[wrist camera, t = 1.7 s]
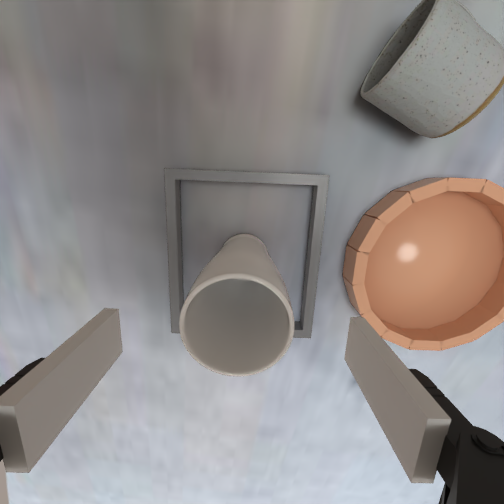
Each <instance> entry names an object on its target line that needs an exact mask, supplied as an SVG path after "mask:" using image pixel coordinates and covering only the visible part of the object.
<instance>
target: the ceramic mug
mask: <svg viewBox="0 0 504 504" xmlns="http://www.w3.org/2000/svg"><path fill="white" fill-rule="evenodd" d="M503 84H504V49H503V48H502V46H501V45H500V43H499V42H498V41H497V40H496V39H495V38H494V37H492V36H491V35H490V34H489V33H488V32H486V31H485V30H484V29H483V28H482V27H481V26H480V25H479V24H478V23H477V22H476V20H475V18H474V17H473V15H472V14H471V13H470V12H469V11H468V9H467V8H466V7H465V6H464V5H462V4H461V3H459V2H458V1H456V0H422V1H421V3H420V4H419V5H418V6H417V7H416V8H415V9H414V10H413V11H412V13H411V14H410V15H409V16H408V17H407V18H406V20H405V21H404V22H403V23H402V25H401V26H400V27H399V28H398V30H397V31H396V32H395V33H394V35H393V36H392V38H391V39H390V40H389V42H388V43H387V44H386V46H385V47H384V49H383V50H382V52H381V54H380V55H379V57H378V58H377V59H376V61H375V62H374V64H373V66H372V67H371V69H370V71H369V73H368V74H367V76H366V79H365V80H364V83H363V85H362V88H361V96H362V98H364V99H365V100H367V101H369V102H370V103H372V104H373V105H375V106H376V107H378V108H379V109H380V110H382V111H383V112H385V113H387V114H388V115H390V116H391V117H393V118H394V119H396V120H398V121H399V122H401V123H402V124H404V125H405V126H406V127H408V128H409V129H411V130H412V131H414V132H416V133H418V134H420V135H423V136H426V137H429V138H437V137H442V136H445V135H447V134H450V133H452V132H454V131H456V130H457V129H459V128H461V127H462V126H464V125H465V124H467V123H468V122H470V121H471V120H472V119H473V118H474V117H476V116H477V115H478V114H479V113H480V112H481V111H482V110H483V109H484V108H485V107H486V106H487V105H488V104H489V103H490V102H491V101H492V100H493V99H494V97H495V96H496V95H497V94H498V92H499V91H500V89H501V87H502V86H503Z"/></svg>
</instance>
